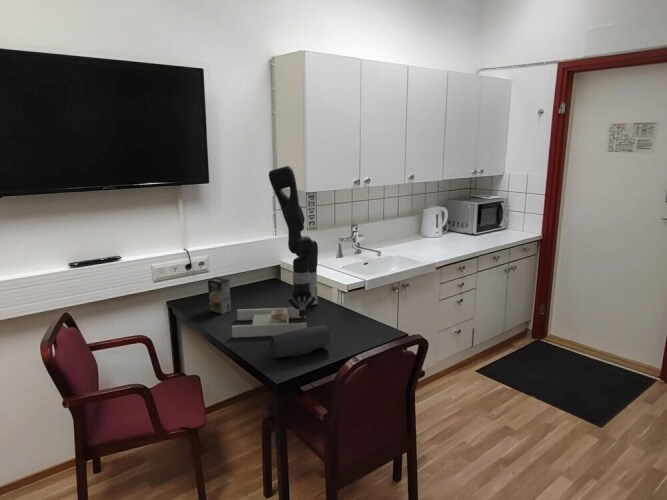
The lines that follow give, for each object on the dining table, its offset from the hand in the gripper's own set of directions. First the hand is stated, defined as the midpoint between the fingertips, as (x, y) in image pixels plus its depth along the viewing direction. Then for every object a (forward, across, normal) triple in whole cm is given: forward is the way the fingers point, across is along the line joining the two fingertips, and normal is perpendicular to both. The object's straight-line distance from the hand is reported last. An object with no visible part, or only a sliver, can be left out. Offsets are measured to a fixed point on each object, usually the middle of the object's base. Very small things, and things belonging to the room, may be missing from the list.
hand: (302, 316), depth 212 cm
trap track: (+4, +14, 0) cm, 15 cm away
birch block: (+1, +10, 0) cm, 10 cm away
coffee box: (+4, +40, -23) cm, 47 cm away
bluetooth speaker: (+4, +1, +28) cm, 28 cm away
